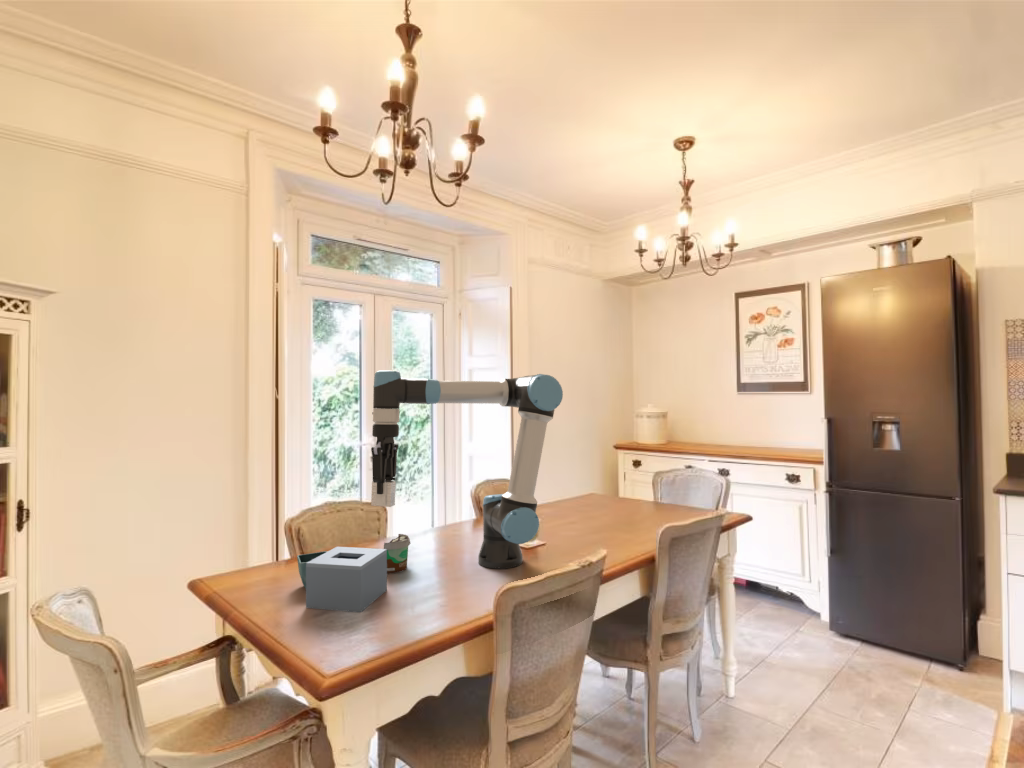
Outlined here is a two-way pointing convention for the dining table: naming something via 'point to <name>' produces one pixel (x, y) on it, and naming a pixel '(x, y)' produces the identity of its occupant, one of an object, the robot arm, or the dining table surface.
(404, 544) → the food container
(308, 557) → the flower pot
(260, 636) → the dining table surface
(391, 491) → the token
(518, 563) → the robot arm
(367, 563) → the coin box
